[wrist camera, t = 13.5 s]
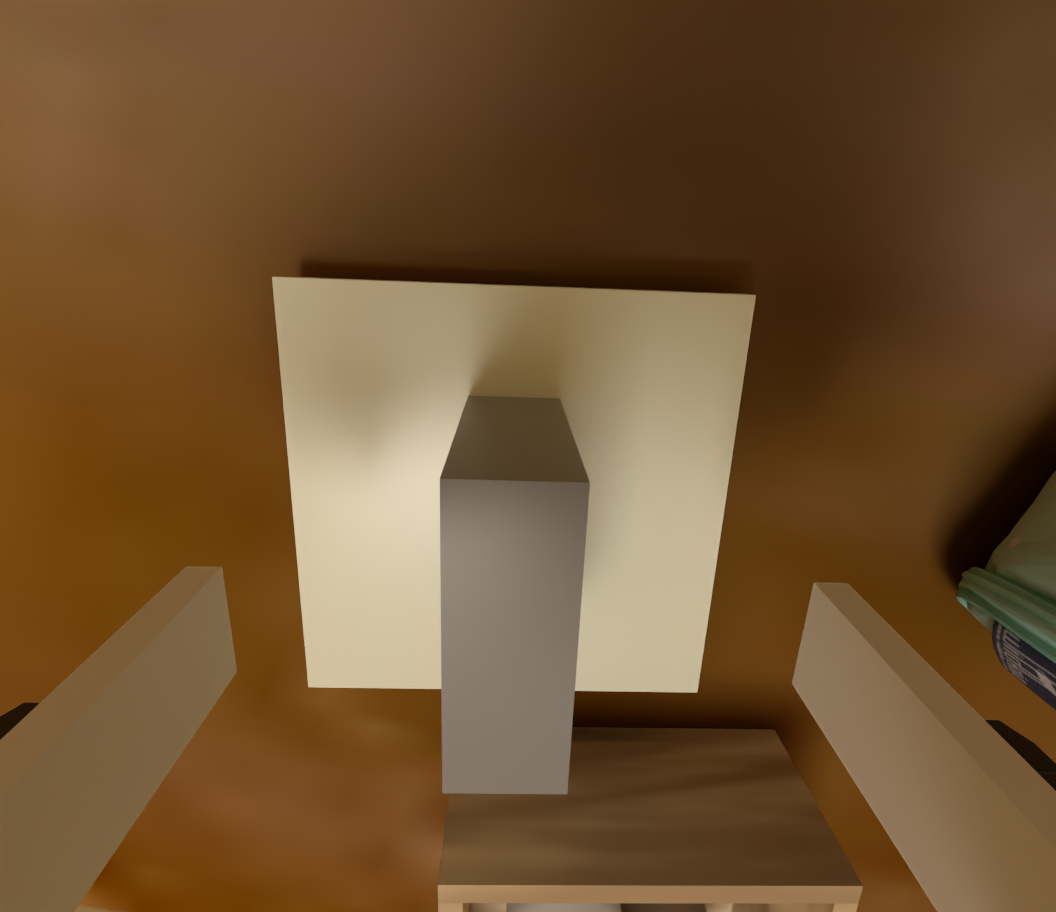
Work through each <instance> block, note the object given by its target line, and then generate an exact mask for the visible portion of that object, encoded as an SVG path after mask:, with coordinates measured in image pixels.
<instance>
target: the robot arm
mask: <svg viewBox="0 0 1056 912" xmlns="http://www.w3.org/2000/svg"><path fill="white" fill-rule="evenodd" d="M236 672H237V669H236V662H235V655H234V647H233V640H232V633H231V626H230V619H229V612H228V605H227V598H226V591H225V584H224V577H223V570H222V567H205V566H186V567H185V568H184V569H183V570H182V571H181V572H180V573H179V574H178V575H176V576H175V577H174V578H173V579H172V580H171V581H170V582H169V583H168V584H167V585H166V586H165V587H164V588H163V589H161V590H160V591H159V592H158V593H157V594H156V595H155V596H154V597H153V598H152V599H151V600H150V601H149V602H148V603H146V604H145V605H144V606H143V607H142V608H141V609H140V610H139V611H138V612H137V613H136V614H135V615H134V616H133V617H131V618H130V619H129V620H128V621H127V622H126V623H125V624H124V625H123V626H122V627H121V628H120V629H119V630H118V631H116V632H115V633H114V634H113V635H112V636H111V637H110V638H109V639H108V640H107V641H106V642H105V643H104V644H103V645H101V646H100V647H99V648H98V649H97V650H96V651H95V652H94V653H93V654H92V655H91V656H90V657H89V658H88V659H86V660H85V661H84V662H83V663H82V664H81V665H80V666H79V667H78V668H77V669H76V670H75V671H74V672H73V673H71V674H70V675H69V676H68V677H67V678H66V679H65V680H64V681H63V682H62V683H61V684H60V685H59V686H58V687H56V688H55V689H54V690H53V691H52V692H51V693H50V694H49V695H48V696H47V697H46V698H45V699H44V700H43V701H41V702H40V703H23V704H21V705H19V706H18V707H16V708H14V709H13V710H11V711H9V712H8V713H6V714H4V715H2V716H1V717H0V912H74V911H75V910H76V908H77V907H78V905H79V904H80V902H81V901H82V900H83V898H84V897H85V895H86V894H87V892H88V891H89V889H90V888H91V886H92V885H93V883H94V882H95V880H96V879H97V877H98V876H99V874H100V873H101V871H102V870H103V869H104V867H105V866H106V864H107V863H108V861H109V860H110V858H111V857H112V855H113V854H114V852H115V851H116V849H117V848H118V846H119V845H120V843H121V842H122V841H123V839H124V838H125V836H126V835H127V833H128V832H129V830H130V829H131V827H132V826H133V824H134V823H135V821H136V820H137V818H138V817H139V815H140V814H141V813H142V811H143V810H144V808H145V807H146V805H147V804H148V802H149V801H150V799H151V798H152V796H153V795H154V793H155V792H156V790H157V789H158V787H159V786H160V784H161V783H162V782H163V780H164V779H165V777H166V776H167V774H168V773H169V771H170V770H171V768H172V767H173V765H174V764H175V762H176V761H177V759H178V758H179V756H180V755H181V754H182V752H183V751H184V749H185V748H186V746H187V745H188V743H189V742H190V740H191V739H192V737H193V736H194V734H195V733H196V731H197V730H198V728H199V727H200V725H201V724H202V723H203V721H204V720H205V718H206V717H207V715H208V714H209V712H210V711H211V709H212V708H213V706H214V705H215V703H216V702H217V700H218V699H219V697H220V696H221V695H222V693H223V692H224V690H225V689H226V687H227V686H228V684H229V683H230V681H231V680H232V678H233V677H234V675H235V674H236ZM792 685H793V686H794V688H795V689H796V691H797V692H798V694H799V696H800V697H801V699H802V700H803V702H804V703H805V705H806V707H807V708H808V710H809V711H810V713H811V714H812V716H813V718H814V719H815V721H816V722H817V724H818V725H819V727H820V729H821V730H822V732H823V733H824V735H825V736H826V738H827V740H828V741H829V743H830V744H831V746H832V747H833V749H834V751H835V752H836V754H837V755H838V757H839V758H840V760H841V761H842V763H843V765H844V766H845V768H846V769H847V771H848V772H849V774H850V776H851V777H852V779H853V780H854V782H855V783H856V785H857V787H858V788H859V790H860V791H861V793H862V794H863V796H864V798H865V799H866V801H867V802H868V804H869V805H870V807H871V809H872V810H873V812H874V813H875V815H876V816H877V818H878V820H879V821H880V823H881V824H882V826H883V827H884V829H885V831H886V832H887V834H888V835H889V837H890V838H891V840H892V841H893V843H894V845H895V846H896V848H897V849H898V851H899V852H900V854H901V856H902V857H903V859H904V860H905V862H906V863H907V865H908V867H909V868H910V870H911V871H912V873H913V874H914V876H915V878H916V879H917V881H918V882H919V884H920V885H921V887H922V889H923V890H924V892H925V893H926V895H927V896H928V898H929V900H930V901H931V903H932V904H933V906H934V907H935V909H936V911H937V912H1056V764H1055V763H1054V762H1053V761H1052V760H1051V759H1050V758H1049V757H1048V756H1047V755H1046V754H1045V753H1044V752H1043V751H1042V750H1041V749H1040V748H1039V747H1038V746H1036V745H1035V744H1034V743H1033V742H1031V741H1030V740H1028V739H1027V738H1025V737H1024V736H1022V735H1020V734H1019V733H1017V732H1016V731H1014V730H1013V729H1011V728H1010V727H1008V726H1007V725H1005V724H1003V723H1002V722H1000V721H999V720H984V719H983V718H982V717H981V716H980V715H979V714H978V713H977V712H976V711H975V710H974V709H973V708H972V707H971V706H970V705H969V704H968V703H967V702H966V701H965V700H964V699H963V698H962V697H961V696H960V695H959V694H958V693H957V692H956V691H955V690H954V689H953V688H952V687H951V686H950V685H949V684H948V683H947V682H946V681H945V680H944V679H943V678H942V677H941V676H940V675H939V674H938V673H937V672H936V671H935V670H934V669H933V668H932V667H931V666H930V665H929V664H928V663H927V662H926V661H925V660H924V659H923V658H922V657H921V656H920V655H919V654H918V653H917V652H916V651H915V650H914V649H913V648H912V647H911V646H910V645H909V644H908V643H907V642H906V641H905V640H904V639H903V638H902V637H901V636H900V635H899V634H898V633H897V632H896V631H895V630H894V629H893V628H892V627H891V626H890V625H889V624H888V623H887V622H886V621H885V620H884V619H883V618H882V617H881V616H880V615H879V614H878V613H877V612H876V611H875V610H874V609H873V608H872V607H871V606H870V605H869V604H868V603H867V602H866V601H865V600H864V599H863V598H862V597H861V596H860V595H859V594H858V593H857V592H856V591H855V590H854V589H853V588H852V587H851V586H850V585H849V584H848V583H822V582H814V584H813V588H812V593H811V598H810V602H809V607H808V612H807V616H806V621H805V625H804V630H803V635H802V639H801V644H800V649H799V653H798V658H797V662H796V667H795V672H794V676H793V681H792Z"/></svg>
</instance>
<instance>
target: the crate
mask: <svg viewBox="0 0 1056 912" xmlns="http://www.w3.org/2000/svg"><path fill="white" fill-rule="evenodd" d="M862 888H863V885H862V883H861V881H860V880H859V878H858V876H857V874H856V873H855V871H854V869H853V867H852V866H851V864H850V862H849V860H848V858H847V857H846V855H845V853H844V851H843V850H842V848H841V846H840V844H839V843H838V841H837V839H836V837H835V836H834V834H833V832H832V830H831V828H830V827H829V825H828V823H827V821H826V820H825V818H824V816H823V814H822V813H821V811H820V809H819V807H818V805H817V804H816V802H815V800H814V798H813V797H812V795H811V793H810V791H809V790H808V788H807V786H806V784H805V783H804V781H803V779H802V777H801V775H800V774H799V772H798V770H797V768H796V767H795V765H794V763H793V761H792V760H791V758H790V756H789V754H788V753H787V751H786V749H785V747H784V745H783V744H782V742H781V740H780V738H779V737H778V735H777V733H776V731H775V730H774V729H697V728H611V727H572V736H571V750H570V764H569V777H568V791H567V794H460V793H449V798H448V806H447V815H446V823H445V831H444V840H443V848H442V856H441V865H440V873H439V881H438V912H856V910H857V906H858V903H859V899H860V895H861V892H862Z"/></svg>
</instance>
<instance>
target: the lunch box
mask: <svg viewBox="0 0 1056 912" xmlns="http://www.w3.org/2000/svg"><path fill="white" fill-rule="evenodd" d="M956 598H957V600H958V601H959V602H960V603H961V604H962V605H963V606H964V607H965V608H966V609H967V610H968V611H969V612H971V614H972V615H973V616H974V617H975V618H976V619H977V620H978V621H979V622H980V623H981V624H982V625H983V626H984V627H985V628H987V629H988V630H989V632H990V633H991V634H992V639H993V645H994V648H995V651H996V654H997V656H998V658H999V660H1000V662H1001V664H1002V665H1003V666H1004V668H1005V669H1007V670H1008V671H1009V672H1010V673H1012V674H1013V675H1014V676H1015V677H1016V678H1017V679H1019V680H1020V681H1021V682H1022V683H1023V684H1024V685H1026V686H1027V687H1028V688H1029V689H1030V690H1031V691H1033V692H1034V693H1035V694H1036V695H1038V696H1039V697H1040V698H1041V699H1043V700H1044V701H1045V702H1046V703H1048V704H1049V705H1050V706H1051V707H1053V708H1054V709H1055V710H1056V471H1055V472H1054V473H1053V474H1052V476H1051V477H1050V478H1049V480H1048V481H1047V483H1046V484H1045V486H1044V487H1043V489H1042V490H1041V492H1040V493H1039V495H1038V496H1037V498H1036V499H1035V500H1034V502H1033V503H1032V505H1031V506H1030V507H1029V508H1028V510H1027V511H1026V512H1025V513H1024V515H1023V516H1022V517H1021V518H1020V520H1019V521H1018V522H1017V524H1016V525H1015V526H1014V528H1013V529H1012V531H1011V532H1010V533H1009V535H1008V536H1007V537H1006V538H1005V539H1004V540H1003V541H1002V542H1001V543H1000V544H999V545H998V547H997V548H996V549H995V550H994V552H993V553H992V555H991V557H990V559H989V561H988V563H987V565H986V567H985V569H981V568H978V567H971V568H970V569H969V570H968V571H964V572H963V573H962V580H961V581H960V583H959V584H958V592H957V594H956Z"/></svg>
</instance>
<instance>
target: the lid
mask: <svg viewBox="0 0 1056 912" xmlns="http://www.w3.org/2000/svg"><path fill="white" fill-rule="evenodd" d="M272 283H273V294H274V305H275V317H276V328H277V339H278V350H279V362H280V373H281V384H282V395H283V407H284V418H285V429H286V440H287V452H288V463H289V474H290V485H291V497H292V508H293V519H294V530H295V542H296V553H297V564H298V575H299V587H300V598H301V609H302V620H303V632H304V643H305V654H306V665H307V677H308V687H333V688H405V689H441V694H442V793H460V794H567V791H568V777H569V764H570V750H571V736H572V722H573V709H574V695H575V691H622V692H694V693H697V691H698V685H699V678H700V671H701V664H702V658H703V651H704V644H705V637H706V630H707V624H708V617H709V610H710V603H711V597H712V590H713V583H714V576H715V569H716V563H717V556H718V549H719V542H720V536H721V529H722V522H723V515H724V508H725V502H726V495H727V488H728V481H729V475H730V468H731V461H732V454H733V447H734V441H735V434H736V427H737V420H738V414H739V407H740V400H741V393H742V387H743V380H744V373H745V366H746V359H747V353H748V346H749V339H750V332H751V326H752V319H753V312H754V305H755V298H756V295H751V294H738V293H712V292H685V291H659V290H632V289H606V288H579V287H553V286H526V285H500V284H473V283H447V282H420V281H394V280H367V279H341V278H315V277H288V276H280V277H272Z"/></svg>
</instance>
